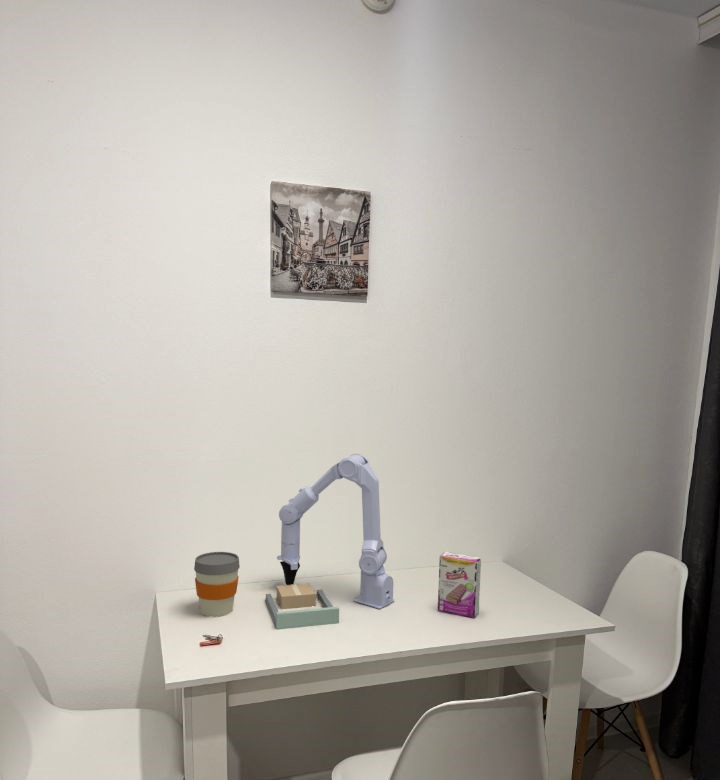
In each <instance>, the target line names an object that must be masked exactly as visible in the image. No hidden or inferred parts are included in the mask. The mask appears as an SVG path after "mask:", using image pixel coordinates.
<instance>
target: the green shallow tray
mask: <svg viewBox="0 0 720 780" xmlns="http://www.w3.org/2000/svg"><path fill="white" fill-rule="evenodd" d="M316 598H317V599H318V601H319V600H320V601H319V603H320V604H321V605H322V607H317V608H308V609H307V608H306V609H298V610H297V609H296V610H286V611H279V610H278V607H277V605H276V602H275V600H274V598H273V596H272V593H265V603H266V606H267V608H268V611H269V614H270V616H271V618H272V620H273V623H274V626H275V627H276V630H283V629H284V630H285V629H291V628H292V629H293V628H302V627H311V626H312V627H313V626H321V625H322V626H323V625H331V624H340V608H339V606H334V605H333V604H332V602H331V601H330V600H329V598H328V597H327V595H326V593H325V592H324V590H323V589H316Z"/></svg>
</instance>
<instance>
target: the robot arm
mask: <svg viewBox="0 0 720 780" xmlns="http://www.w3.org/2000/svg"><path fill="white" fill-rule="evenodd" d="M343 478H344V479H346V480H348V481H350V482H353V483H355V484H356V485H358V487H359V488H361V503H362V504H361V505H362V506H361V507H362V510H361V511H362V529H363V530H362V533H363V534H362V535H363V542H362V547H361V555H360V558H359V560H358V566H359V570H360V590H359V597H357V598H354V599H353V602H355V603H359V604H362V605H364V606H365V605H366V606H368V607H372V608H375V609H379V610H380V609H383V608H384V607H386V606H388V605H390V604H392V603H393V602H395V599H394V578H393V577H392V576H391V575H389V574H388V573H386V567H385V566H384V565H385V563H386V561H387V559H388V555H387V552H386V550H385V547H384V541H383V540H382V538H381V513H380V512H381V508H380V485H379V484H380V482H379V478H378V476H377V475H376V473H375V471H374V469H373V467H371V464H370V460H369V459H367V458H366V457H365V456H363V455H361V454H359V453H353V454H351V455H350V456H347V457H343V458H342V459H340V461H339V462H337V463H335V464H334V465H333V466H332V467H330V468H329V469H328V470H327V471H326V472H325V473H324V474H323V475H322V476H321V477H320V478H319V479H318V480H317V481H316V482H315V483H314V484H313V485H312V486H305V487H300V489H299V490H298V493H297V494H296V495H295V496H293V498H290V499H289V500H288V504H284V505H282V506H281V508H280V510H279V512H278V517H279V520H280V522H281V532H280V533H281V535H280V537H281V539H280V540H281V541H280V542H281V543H280V555H277V556H276V559H277V560H279V561H280V560H281V561H280V562H279V563H280V566H281V567H282V568H281V569H282V571H283V577H284V582H285V585H291V584H295V580H296V577H297V574H298V571H299V569H300V567H301V564H300V562H299V561H300V560H301V554H300V551H301V550H300V548H301V547H300V546H301V545H300V543H301V541H300V539H301V519H302V517H303V516H304V514H306V512H308V511H309V510H310V509H311V508H312V507H313V506H314V505H315V504H317V502H319V498H320V495H321V493H322V492H323V491H324V490H326V489H327V488H328V487H329V486H330V485H331V484H333V483H334V482H335V481H337V480H341V479H343Z"/></svg>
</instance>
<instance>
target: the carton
mask: <svg viewBox="0 0 720 780" xmlns="http://www.w3.org/2000/svg"><path fill="white" fill-rule="evenodd" d="M316 599H317V592H315V590H314V589H313V587H312V585H311V583H309V582H308V583H297V584H296V583H294V584H291V585H286V584H282V585H276V601H277V602H278V604H279V607H280V610H288V609H289V610H291V609H301V608H311V607H312V606H314V607H316V606H317V605H316V604H317V602H316Z"/></svg>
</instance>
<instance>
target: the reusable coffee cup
mask: <svg viewBox="0 0 720 780" xmlns="http://www.w3.org/2000/svg"><path fill="white" fill-rule="evenodd" d="M194 560H195V561H194V566H193V567H194V568H193V569H194V572H195V578H194V583H195V591H196V596H197V597H198V603H199V612H200V614H201V615H202V614H203V616H204V617H205V616H206V617H209V616H213V617H214V618H217V617H223V616H226V615H228V614H231V613H232V612H233V608H234V601H235V596H236V594H237V590H238V586H239V585H238V584H239V574H238V573H239V569H240V557H239V556H238V554H236V553H233V552H229V551H228V552H227V551H212V552H211V551H210V552H206V553H202V554H200V555H197V556H196V557H195V558H194ZM216 616H217V617H216ZM213 617H212V618H213Z"/></svg>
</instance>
